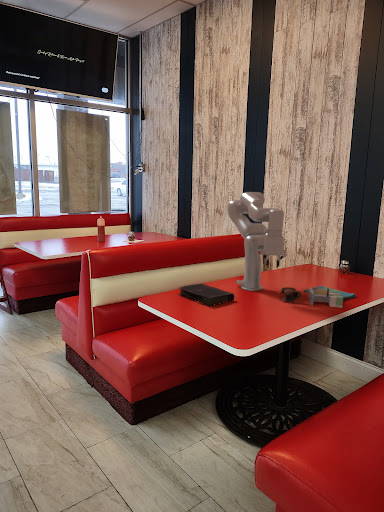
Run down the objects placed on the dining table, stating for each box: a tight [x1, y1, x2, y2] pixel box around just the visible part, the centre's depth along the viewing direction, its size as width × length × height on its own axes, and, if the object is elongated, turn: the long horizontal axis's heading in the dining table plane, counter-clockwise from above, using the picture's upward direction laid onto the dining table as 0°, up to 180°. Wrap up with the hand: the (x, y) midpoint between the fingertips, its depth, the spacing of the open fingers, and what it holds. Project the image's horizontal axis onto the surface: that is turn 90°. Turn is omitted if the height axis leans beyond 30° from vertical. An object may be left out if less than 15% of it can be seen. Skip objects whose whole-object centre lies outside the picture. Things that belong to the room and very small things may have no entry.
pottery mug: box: [280, 286, 303, 304], centre depth 203 cm, size 12×10×8 cm
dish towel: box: [303, 285, 357, 302], centre depth 218 cm, size 17×23×2 cm
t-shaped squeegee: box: [308, 287, 331, 306], centre depth 200 cm, size 12×13×8 cm
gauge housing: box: [327, 293, 344, 309], centre depth 199 cm, size 6×10×5 cm, turn 168°
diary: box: [178, 283, 235, 308], centre depth 204 cm, size 19×25×5 cm
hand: (272, 267), depth 203 cm, fingers open, 4 cm apart
